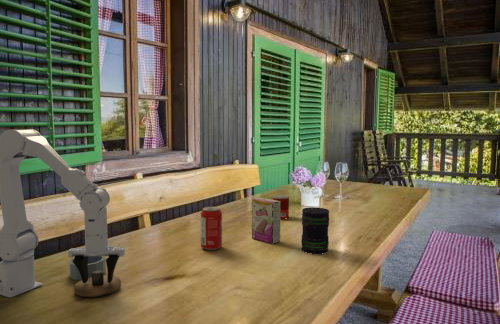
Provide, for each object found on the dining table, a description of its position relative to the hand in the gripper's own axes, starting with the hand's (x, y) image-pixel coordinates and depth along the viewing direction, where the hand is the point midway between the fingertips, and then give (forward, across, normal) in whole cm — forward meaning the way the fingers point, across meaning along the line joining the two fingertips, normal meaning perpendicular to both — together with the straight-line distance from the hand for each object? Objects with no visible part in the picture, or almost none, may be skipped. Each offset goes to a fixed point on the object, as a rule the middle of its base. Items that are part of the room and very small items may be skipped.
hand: (97, 281), depth 109 cm
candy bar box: (+2, +51, +44) cm, 68 cm away
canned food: (+2, +62, +82) cm, 103 cm away
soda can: (+2, +30, +36) cm, 47 cm away
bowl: (+2, -7, +12) cm, 14 cm away
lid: (+2, 0, 0) cm, 2 cm away
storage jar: (+2, +68, +31) cm, 75 cm away
